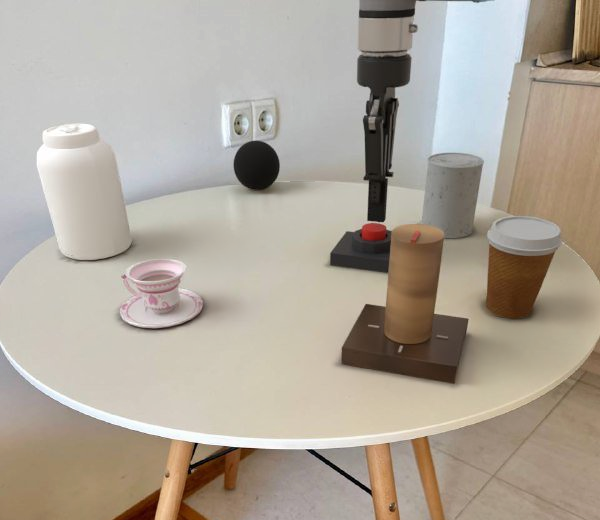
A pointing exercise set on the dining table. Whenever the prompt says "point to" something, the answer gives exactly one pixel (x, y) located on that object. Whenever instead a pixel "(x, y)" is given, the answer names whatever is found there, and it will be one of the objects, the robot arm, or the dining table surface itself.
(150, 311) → the teacup
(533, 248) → the disposable coffee cup
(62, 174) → the white lidded jar
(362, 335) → the dark brown wooden base
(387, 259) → the button base
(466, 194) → the gray concrete cylinder
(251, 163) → the decorative ball
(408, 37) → the robot arm
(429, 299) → the wooden cylinder
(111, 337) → the dining table surface
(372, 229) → the red button
